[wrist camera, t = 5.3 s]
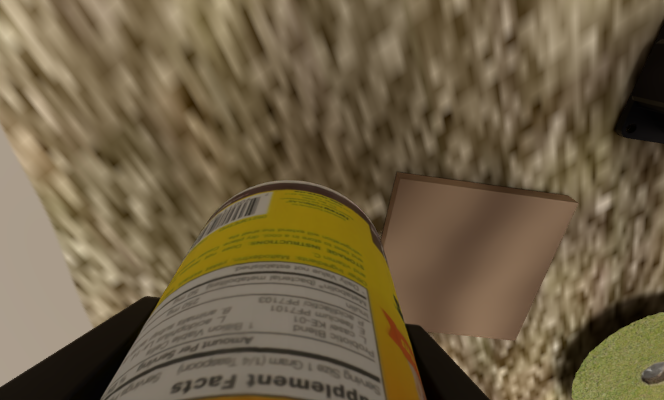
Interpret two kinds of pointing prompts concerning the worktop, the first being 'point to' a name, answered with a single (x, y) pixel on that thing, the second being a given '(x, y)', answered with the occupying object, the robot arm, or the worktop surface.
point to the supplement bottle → (277, 309)
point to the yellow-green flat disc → (625, 364)
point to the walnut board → (470, 252)
